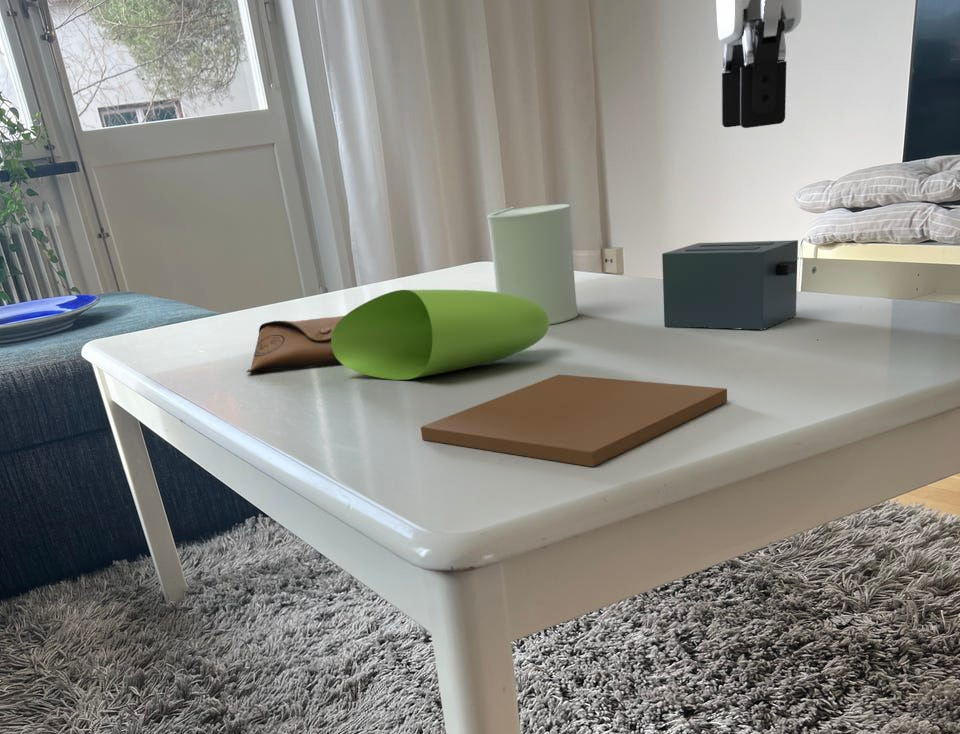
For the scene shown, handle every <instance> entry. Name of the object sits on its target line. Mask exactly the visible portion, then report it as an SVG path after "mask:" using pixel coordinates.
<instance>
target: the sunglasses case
mask: <svg viewBox="0 0 960 734" xmlns="http://www.w3.org/2000/svg"><path fill="white" fill-rule="evenodd" d="M344 316H345V315H340V316H331V317H320V318H319V317H318V318H311V319H302V320H296V321H294V320H293V321H292V320H271V321H267V322H264V323H262V324H261V325H260V326H259V327H258V337H257V340H256V344H255V349H254V352H253V357H252V362H251V366H250V368H248V369H247V371H246V373H254V372H260V371H268V370H269V371H270V370H279V369H281V370H282V369H299V368H300V369H301V368H308V367H322V366H336V365H337V366H339V365H342V364H341V363H340V362H339V361H338V359H337V358H336V357H335V355H334V353H333V350H332V345H331V337H332V332H333V330H334V328H335V326H336V325H337V323H338V322H339V321H340V320H341V319H342V318H343V317H344Z"/></svg>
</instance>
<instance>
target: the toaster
mask: <svg viewBox="0 0 960 734" xmlns="http://www.w3.org/2000/svg"><path fill="white" fill-rule="evenodd" d="M798 254H799V240H797V239H796V240H794V239H793V240H760V241H757V240H756V241H725V242H723V241H722V242H698V243H694V244H690V245H687V246H683V247H681V248H676V249H673V250H670V251H667V252H666V251H665V252H663V253H662V254H661V259H662V260H661V263H662V288H663V289H662V292H663V294H662V295H663V322H664V324H663V325H664V327H665V328H687V327H704V328H703V329H713V328H741V329H760V330H759V331H762V330H761V329H764V328H767V327H769V328H771V327H773V325H774V326H776V325H778V323H779V324H781V323H783V322H786V321H787V320H790V319H793V318H795V317H796V316H797V294H798V293H797V292H798V288H797V287H798V260H799V259H798V258H799V257H798V256H799V255H798ZM792 317H793V318H792ZM785 320H786V321H785ZM775 324H776V325H775ZM770 326H771V327H770ZM705 327H707V328H705ZM708 327H709V328H708ZM710 327H711V328H710ZM767 329H768V328H767ZM764 330H765V329H764Z"/></svg>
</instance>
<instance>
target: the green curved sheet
mask: <svg viewBox="0 0 960 734" xmlns="http://www.w3.org/2000/svg"><path fill="white" fill-rule="evenodd" d="M343 316H344V317H343V318H342V319H341V320H340V321H339V322H338V323H337V325H336V326H335V328H334V330H333V332H332V337H331V345H332V350H333V353H334V355H335V357H336V358H337V359H338V361H339V362H340V363H341V364H340V365H342V366H344V367H345V368H347V369H349V370H351V371H353V372H356V373H359V374H361V375H366V376H369V377H374V378H379V379H385V380H395V381H398V380H399V381H403V380H405V381H406V380H413V379H418V378H423V377H429V376H434V375H439V374H446V373H450V372H454V371H460V370H463V369H464V370H465V369H468V368H472V367H477V366H481V365H485V364H488V363H493V362H496V361H499V360H503V359H505V358H509V357H511V356H514V355H516V354H518V353H520V352H523V351H524V350H527V349H528V348H531V347H532V346H533V345H536V344H537V343H539V341H541V340H542V339H543V338H544V337H545V336H546V334H547V333H548V331H549V328H550V325H549V316H548V314H547V312H546V311H545V310H544V309H543V308H542V307H541V306H540V305H538V304H537V303H535V302H533V301H530V300H528V299H525V298H521V297H518V296H514V295H509V294H504V293H498V292H496V291H487V290H475V289H473V290H472V289H398V290H393V291H390V292H386V293H384V294H381V295H378V296H377V297H375V298H372V299H370V300H368V301H366V302H364V303H362V304H361V305H359V306H357V307H356V308H354V309H352V310H350V312H348V313H346V314H345V315H343Z"/></svg>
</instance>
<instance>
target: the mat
mask: <svg viewBox="0 0 960 734" xmlns="http://www.w3.org/2000/svg"><path fill="white" fill-rule="evenodd" d="M727 402H728V389H727V388H724V387H714V386H712V387H711V386H701V385H700V386H699V385H689V384H688V385H687V384H677V383H667V382H666V383H664V382H655V381H654V382H653V381H652V382H651V381H640V380H629V379H618V378H605V377H592V376H581V375H571V374H570V375H569V374H556V375H553V376H551V377H549V378H546V379H543V380H540V381H537V382H535V383H533V384H530V385H528V386H525V387H521V388H519V389H517V390H514V391H511V392H508V393H506V394H504V395H501V396H498V397H496V398H493V399H491V400H487V401H485V402H483V403H482V402H481V403H479V404H477V405H475V406H471V407H469V408H466V409H464V410H462V411H459V412H455V413H453V414H451V415H448V416H445V417H442V418H440V419H438V420H435V421H433V422H429V423H427V424H425V425H422V426H420V433H421V439H422V440H423V441H427V442H435V443H442V444H447V445H453V446H460V447H467V448H472V449H478V450H485V451H491V452H497V453H502V454H510V455H516V456H522V457H529V458H533V459H534V458H535V459H542V460H547V461H554V462H560V463H566V464H573V465H578V466H585V467H592V468H594V467H596V466H598V465H600V464H602V463H604V462H606V461H609V460H610V459H612V458H614V457H616V456H619V455H621V454H622V453H625V452H627V451H629V450H632V449H633V448H635V447H637V446H639V445H641V444H643V443H645V442H647V441H650V440H652V439H653V438H656V437H658V436H660V435H662V434H664V433H666V432H668V431H670V430H673V429H675V428H677V427H678V426H680V425H682V424H684V423H687V422H689V421H691V420H693V419H695V418H696V417H699V416H701V415H703V414H705V413H708V412H709V411H711V410H714V409H715V408H718V407H720V406H721V405H724V404H725V403H727Z"/></svg>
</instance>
